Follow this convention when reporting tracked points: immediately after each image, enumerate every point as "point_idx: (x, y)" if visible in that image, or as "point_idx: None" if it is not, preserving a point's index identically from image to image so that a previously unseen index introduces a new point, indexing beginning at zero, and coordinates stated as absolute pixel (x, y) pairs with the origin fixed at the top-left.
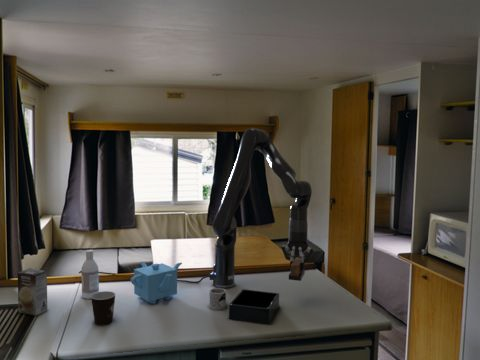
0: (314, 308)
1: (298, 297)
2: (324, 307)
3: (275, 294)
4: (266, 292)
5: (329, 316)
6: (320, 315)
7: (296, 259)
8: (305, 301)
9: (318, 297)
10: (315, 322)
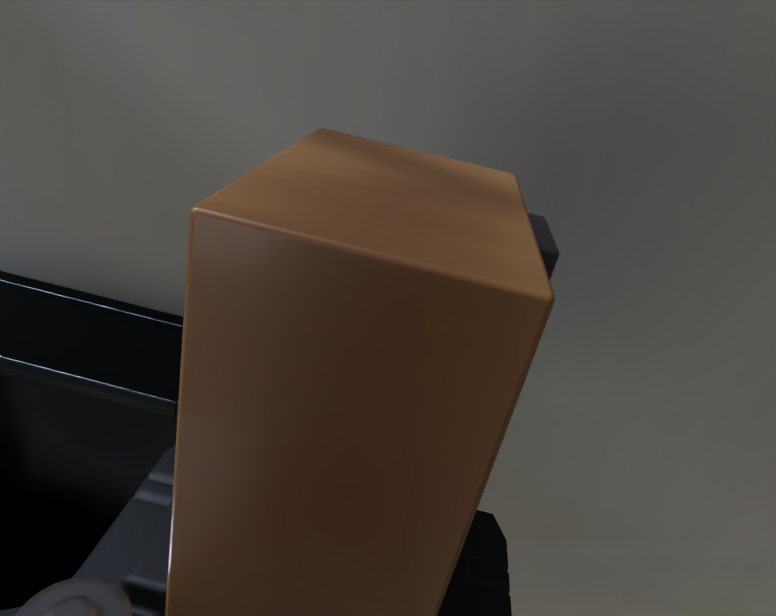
0: (584, 348)
1: (454, 41)
2: (698, 321)
3: (164, 409)
4: (61, 389)
5: (677, 497)
6: (603, 480)
7: (237, 538)
8: (523, 170)
9: (727, 7)
10: (532, 579)
